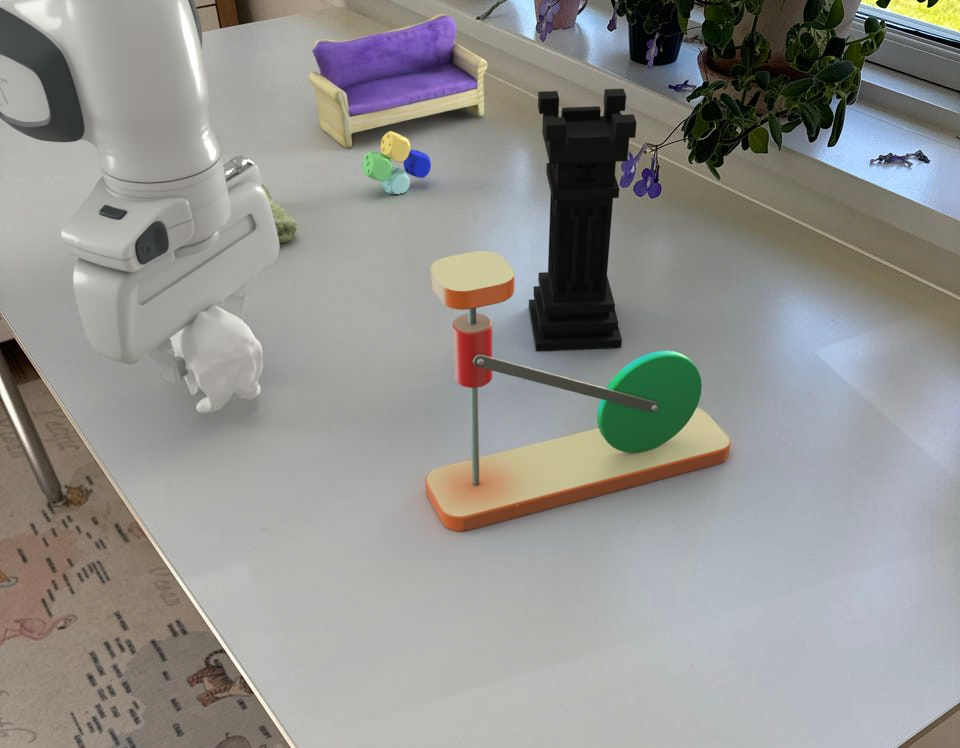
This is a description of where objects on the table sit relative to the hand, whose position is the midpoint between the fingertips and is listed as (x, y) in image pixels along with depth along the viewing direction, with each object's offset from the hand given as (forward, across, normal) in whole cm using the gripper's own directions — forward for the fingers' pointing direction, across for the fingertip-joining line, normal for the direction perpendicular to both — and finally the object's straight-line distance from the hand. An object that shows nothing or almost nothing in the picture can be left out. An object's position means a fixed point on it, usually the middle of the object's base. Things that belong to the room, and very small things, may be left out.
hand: (205, 355), depth 90 cm
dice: (+4, -43, -8) cm, 44 cm away
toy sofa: (+4, -60, -18) cm, 63 cm away
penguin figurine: (+3, 0, 0) cm, 3 cm away
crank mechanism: (+4, -5, +33) cm, 34 cm away
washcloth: (+4, -23, -20) cm, 31 cm away
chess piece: (+4, -25, +23) cm, 35 cm away
